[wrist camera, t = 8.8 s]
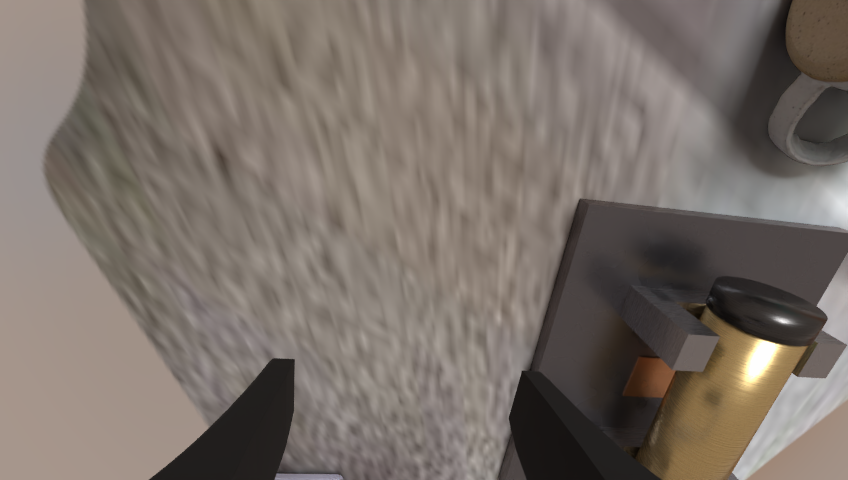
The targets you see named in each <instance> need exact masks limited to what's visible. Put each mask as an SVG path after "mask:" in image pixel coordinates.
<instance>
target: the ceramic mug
mask: <svg viewBox="0 0 848 480" xmlns="http://www.w3.org/2000/svg"><path fill="white" fill-rule="evenodd" d="M786 47H787V52H788V54H789V56H790V58H791V61H792V62H793V63H794V65H795V66H796V67H797V68H798V70H800V71H801V75H799V76H798V77H797V79H796V80H795V81H794V82H793V83H791V85H790V86H789V87H788V88H787V89H786V91H785V92H784V93H783V94H782V95H781V97H780V99H779V101H778V103H777V105H776V107H775V108H774V111H773V113H772V115H770V119H769V124H768V133H769V136H770V139H771V140H772V141H773V143H774V144H775V145H776V146H777V147H778V148H779V149H780V150H782V151H783V152H784V153H785V154H786V155H787V156H788V157H790V158H791V159H793V160H795V161H798V162H800V163H804V164H809V165H816V166H827V165H834V164H839V163H843V162H847V161H848V134H846V135H844V136H842V137H839V138H837V139H834V140H832V141H829V142H826V143H818V144H815V143H812V142H808V141H803V140H800V139H799V137H798V135H796V134H794V133H793V132H794V130H795V127H796V125H797V123H798V122H799V120H800V119H801V118H802V117H803V115H804V113H805V112H806V110H807V109H808V108H809V107H810V105H812V104H813V103H814V102H815V101H816V99H817V98H818V97H819V96H820V94H821V93H822V92H823V91H824V90H826V89H827V88H829V87H835V88H838V89H842V90H846V91H848V0H793V1H792V4H791V6H790V9H789V13H788V18H787V23H786Z"/></svg>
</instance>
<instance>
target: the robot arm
mask: <svg viewBox="0 0 848 480" xmlns="http://www.w3.org/2000/svg"><path fill="white" fill-rule="evenodd" d="M294 362H295V359H277V358H274V359H272V360H271V361H270V362H269V363H268V364H267V365H266V367H265V368H264V369H263V370H262V372H261V373H260V374H259V375H258V376H257V378H256V379H255V380H254V381H253V382H252V383H251V385H250V386H249V387H248V388H247V389H246V390H245V391H244V393H243V394H242V395H241V396H240V397H239V398H238V399H237V400H236V401H235V402H234V403H233V404H232V405H231V407H230V408H229V409H228V410H227V411H226V412H225V413H224V414H223V415H222V416H221V417H220V418H219V419H218V420H217V421H216V422H215V423H214V424H213V425H212V426H211V427H210V428H209V429H208V430H207V431H205V432H204V433H203V434H202V435H201V436H200V437H199V438H198V439H197V440H196V441H195V442H194V443H193V444H191V445H190V446H189V447H188V448H187V449H186V450H185V451H184V452H182V453H181V454H180V455H179V456H178V457H177V458H175V459H174V460H173V461H172V462H171V463H169V464H168V465H167V466H166V467H165V468H163V469H162V470H161V471H160V472H158V473H157V474H156V475H154V476H153V477H152V478H151V479H149V480H343V477H342V476H341V475H338V474H279V473H277V471H278V468H279V465H280V462H281V459H282V456H283V453H284V450H285V447H286V443H287V439H288V435H289V431H290V426H291V421H292V417H293V412H294ZM509 421H510V426H511V431H512V435H513V440H514V444H515V448H516V451H517V454H518V457H519V460H520V463H521V466H522V469H523V471H524V474H525V477H526V480H661V479H660V478H659V477H657V476H656V475H655V474H653V473H652V472H651V471H649V470H648V469H647V468H646V467H644V466H643V465H642V464H640V463H639V462H638V461H637V460H635V459H634V458H633V457H631V456H630V455H629V454H628V453H627V452H625V451H624V450H623V449H622V448H621V447H619V446H618V445H617V444H616V443H615V442H614V441H613V440H611V439H610V438H609V437H608V436H607V435H606V434H605V433H603V432H602V431H601V430H600V429H599V428H598V427H597V426H596V425H595V424H594V423H593V422H592V421H590V420H589V419H588V418H587V417H586V416H585V415H584V414H583V413H582V412H581V411H580V410H579V409H578V408H577V407H576V406H575V405H574V404H573V403H572V402H571V401H570V400H569V399H568V398H567V397H566V396H565V395H564V394H563V393H562V392H561V391H560V390H559V389H558V388H557V387H556V386H555V385H554V384H553V383H552V382H551V381H550V380H549V379H548V378H546V377H545V376H544V375H543V374H542V373H541V372H539V371H522V373H521V377H520V380H519V384H518V388H517V391H516V395H515V398H514V402H513V405H512V409H511V412H510V416H509Z"/></svg>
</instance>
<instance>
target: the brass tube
mask: <svg viewBox="0 0 848 480" xmlns="http://www.w3.org/2000/svg"><path fill="white" fill-rule="evenodd" d="M705 303H706V306H705V309H704V311H703V313H702V315H701V317H700V319H699V321H701V322H702V323H703V324H705V325H706V326H707V327H708V328H710V329H711V330H712V331H714V332H715V333H716V334H717V335H719V336H720V338H719V340H718V342H717V344H716V346H715V348H714V350H713V352H712V354H711V356H710V358H709V360H708V362H707V364H706V366H705V368H704V370H703V372H697V371H678V370H676V371H675V373H674V375H673V378H672V380H671V382H670V384H669V386H668V388H667V391H666V393H665V395H664V397H663V399H662V401H661V403H660V406H659V408H658V410H657V412H656V414H655V416H654V419H653V421H652V423H651V425H650V427H649V429H648V431H647V434H646V436H645V438H644V440H643V442H642V444H641V447H640V449H639V451H638V453H637V455H636V457H635V460H637V461H638V462H639V463H640V464H642V465H643V466H644V467H646V468H647V469H648V470H649V471H651V472H652V473H653V474H655V475H656V476H657V477H659V478H660V479H661V480H728V478H729V476H730V475H731V473H732V471H733V470H734V468H735V466H736V465H737V463H738V461H739V460H740V458H741V456H742V455H743V453H744V451H745V450H746V448H747V446H748V445H749V443H750V441H751V440H752V438H753V436H754V435H755V433H756V431H757V430H758V428H759V426H760V425H761V423H762V421H763V420H764V418H765V416H766V415H767V413H768V411H769V410H770V408H771V406H772V405H773V403H774V401H775V400H776V398H777V397H778V395H779V393H780V392H781V390H782V388H783V387H784V385H785V383H786V382H787V380H788V378H789V377H790V375H791V373H792V372H793V370H794V368H795V367H796V365H797V363H798V362H799V360H800V358H801V357H802V355H803V353H804V352H805V350H806V348H807V347H808V346H810V345H812V344H813V343H814V341H815V340H816V338H817V336H818V335H819V333H820V331H821V330H822V328H823V326H824V325H825V323H826V321H827V319H828V318H827V316H826V314H825V313H824V312H823V311H822V310H821V309H819V308H818V307H816V306H815V305H813V304H812V303H810V302H808V301H806V300H804V299H802V298H800V297H798V296H796V295H794V294H792V293H789V292H787V291H784V290H782V289H779V288H776V287H773V286H771V285H767V284H764V283H761V282H757V281H754V280H749V279H745V278H740V277H732V276H721V277H717V278H716V279H715V281H714V283H713V286H712V288H711V290H710V292H709V294H708V296H707V299H706V301H705Z"/></svg>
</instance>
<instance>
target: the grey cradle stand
mask: <svg viewBox="0 0 848 480" xmlns="http://www.w3.org/2000/svg"><path fill="white" fill-rule="evenodd" d="M847 253H848V231H847V230H844V229H841V228H837V227H828V226H819V225H810V224H801V223H792V222H783V221H774V220H765V219H757V218H748V217H739V216H730V215H721V214H712V213H703V212H694V211H685V210H676V209H668V208H659V207H650V206H641V205H632V204H623V203H614V202H605V201H596V200H587V199H580V201H579V205H578V208H577V211H576V215H575V218H574V222H573V225H572V229H571V232H570V235H569V239H568V242H567V246H566V249H565V252H564V256H563V259H562V263H561V266H560V270H559V273H558V276H557V280H556V283H555V287H554V290H553V293H552V297H551V300H550V304H549V307H548V311H547V314H546V317H545V321H544V324H543V328H542V331H541V334H540V338H539V341H538V345H537V348H536V352H535V355H534V358H533V362H532V365H531V369H530V371H539V372H541V373H542V374H543V375H544V376H545V377H546V378H548V379H549V380H550V381H551V382H552V383H553V384H554V385H555V386H556V387H557V388H558V389H559V390H560V391H561V392H562V393H563V394H564V395H565V396H566V397H567V398H568V399H569V400H570V401H571V402H572V403H573V404H574V405H575V406H576V407H577V408H578V409H579V410H580V411H581V412H582V413H583V414H584V415H585V416H586V417H587V418H588V419H589V420H590V421H592V422H593V423H594V424H595V425H596V426H597V427H598V428H599V429H600V430H601V431H602V432H603V433H605V434H606V435H607V436H608V437H609V438H610V439H611V440H613V441H614V442H615V443H616V444H617V445H618V446H619V447H621V448H622V449H623V450H624V451H625V452H627V453H628V454H629V455H630V456H631V457H633V458H634V459H635V457H636V455H637V453H638V451H639V449H640V447H641V444H642V442H643V440H644V438H645V436H646V434H647V431H648V429H649V427H650V425H651V423H652V421H653V419H654V416H655V414H656V412H657V410H658V408H659V406H660V403H661V401H662V399H663V397H664V395H665V393H666V391H667V388H668V386H669V384H670V382H671V380H672V378H673V375H674V373H675V371H676V370H678V371H697V372H703V370H704V368H705V366H706V364H707V362H708V360H709V358H710V356H711V354H712V352H713V350H714V348H715V346H716V344H717V342H718V340H719V338H720V336H719V335H717V334H716V333H715V332H714V331H712V330H711V329H710V328H708V327H707V326H706V325H705V324H703V323H702V322H701V321H699V319H700V317H701V315H702V313H703V311H704V309H705V306H706V303H705V301H706V299H707V296H708V294H709V292H710V290H711V288H712V286H713V283H714V281H715V279H716V278H717V277H721V276H732V277H740V278H745V279H749V280H754V281H757V282H761V283H764V284H767V285H771V286H773V287H776V288H779V289H782V290H784V291H787V292H789V293H792V294H794V295H796V296H798V297H800V298H802V299H804V300H806V301H808V302H810V303H812V304H813V305H815V306H817V304H818V302H819V301H820V299H821V297H822V295H823V294H824V292H825V290H826V289H827V287H828V285H829V283H830V282H831V280H832V278H833V277H834V275H835V273H836V271H837V270H838V268H839V266H840V265H841V263H842V261H843V260H844V258H845V256H846V254H847ZM846 346H847V345H846V344H844V343H843V342H841V341H839V340H838V339H836V338H834V337H832V336H831V335H829V334H827V333H825V332H824V331H822V330H821V331H820V333H819V335H818V336H817V338H816V340H815V341H814V343H813V344H812V345H810V346H808V347H807V348H806V350H805V352H804V353H803V355H802V357H801V358H800V360H799V362H798V363H797V365H796V367H795V368H794V370H793V372H792V373H793V374H795V375H796V376H797V377H811V378H826V377H827V375H828V374H829V372H830V371H831V369H832V368H833V366H834V364H835V363H836V361H837V360H838V358H839V357H840V355H841V354H842V352H843V351H844V349H845V347H846ZM499 480H526V477H525V474H524V471H523V469H522V466H521V463H520V460H519V457H518V454H517V451H516V448H515V444H514V440H513V435H512V434H511V437H510V440H509V444H508V447H507V451H506V454H505V458H504V461H503V464H502V468H501V471H500V475H499ZM728 480H738V479H737V478H736V477H735V475H734V474H733V473H731V475H730V476H729V478H728Z"/></svg>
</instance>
